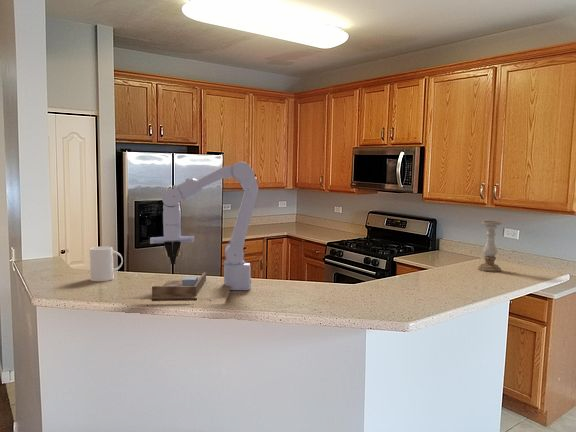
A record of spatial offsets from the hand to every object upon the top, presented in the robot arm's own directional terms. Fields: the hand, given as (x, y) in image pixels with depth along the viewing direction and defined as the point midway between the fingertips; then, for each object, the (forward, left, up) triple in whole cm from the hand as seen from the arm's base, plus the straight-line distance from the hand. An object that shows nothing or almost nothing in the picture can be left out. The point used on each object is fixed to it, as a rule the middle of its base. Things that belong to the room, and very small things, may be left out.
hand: (173, 263), depth 155 cm
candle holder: (-125, -30, -10) cm, 129 cm away
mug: (+29, -18, -10) cm, 36 cm away
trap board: (-3, +2, -9) cm, 10 cm away
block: (-6, +1, -8) cm, 10 cm away
